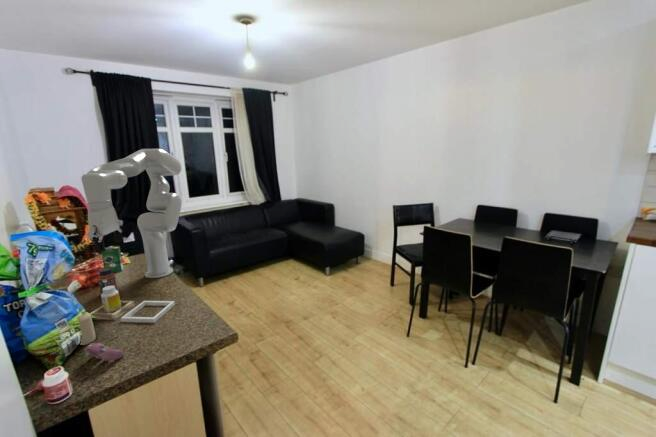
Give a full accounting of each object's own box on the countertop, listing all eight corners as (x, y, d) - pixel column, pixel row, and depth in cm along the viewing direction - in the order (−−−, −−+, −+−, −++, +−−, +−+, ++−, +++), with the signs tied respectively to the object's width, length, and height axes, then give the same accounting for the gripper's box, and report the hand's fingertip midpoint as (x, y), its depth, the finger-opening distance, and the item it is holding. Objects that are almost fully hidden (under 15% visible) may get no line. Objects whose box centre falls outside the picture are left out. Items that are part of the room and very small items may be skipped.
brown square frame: (110, 304, 124) (110, 300, 124) (134, 305, 124) (134, 300, 123) (89, 318, 114) (88, 314, 114) (115, 319, 113) (114, 314, 113)
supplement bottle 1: (111, 296, 132) (106, 272, 129) (97, 296, 132) (92, 272, 129) (120, 290, 138) (116, 266, 135) (107, 290, 138) (103, 266, 135)
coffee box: (124, 269, 162) (120, 245, 159) (122, 271, 159) (117, 247, 156) (107, 271, 160) (102, 247, 157) (104, 273, 157) (99, 249, 154)
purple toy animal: (92, 361, 93) (76, 349, 89) (104, 347, 97) (89, 335, 92) (115, 368, 90) (100, 356, 86) (126, 353, 94) (112, 341, 89)
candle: (84, 347, 98) (77, 319, 96) (70, 345, 99) (63, 317, 97) (100, 336, 103) (94, 310, 101) (86, 335, 104) (80, 308, 102)
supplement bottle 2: (125, 307, 122) (120, 284, 120) (115, 315, 116) (110, 290, 114) (111, 308, 122) (106, 284, 120) (101, 315, 117) (95, 291, 114)
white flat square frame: (144, 304, 125) (144, 300, 124) (175, 304, 123) (174, 301, 123) (121, 321, 112) (120, 318, 112) (154, 322, 111) (154, 319, 111)
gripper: (108, 200, 126) (117, 239, 131) (72, 211, 110) (83, 255, 114) (125, 200, 126) (133, 239, 131) (91, 211, 109) (102, 255, 114)
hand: (110, 246), depth 123 cm, fingers open, 9 cm apart
